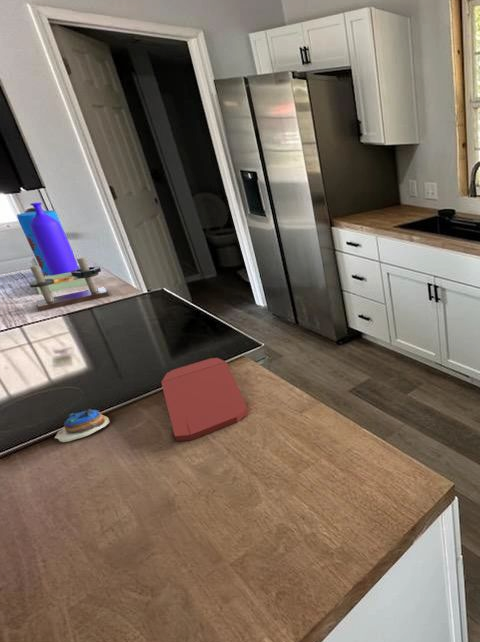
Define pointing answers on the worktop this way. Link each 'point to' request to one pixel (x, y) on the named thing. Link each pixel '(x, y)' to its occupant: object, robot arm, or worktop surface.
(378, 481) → the worktop surface
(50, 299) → the rack
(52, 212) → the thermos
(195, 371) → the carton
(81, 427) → the dessert
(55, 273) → the bottle
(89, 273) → the ring right
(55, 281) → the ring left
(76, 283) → the tray
